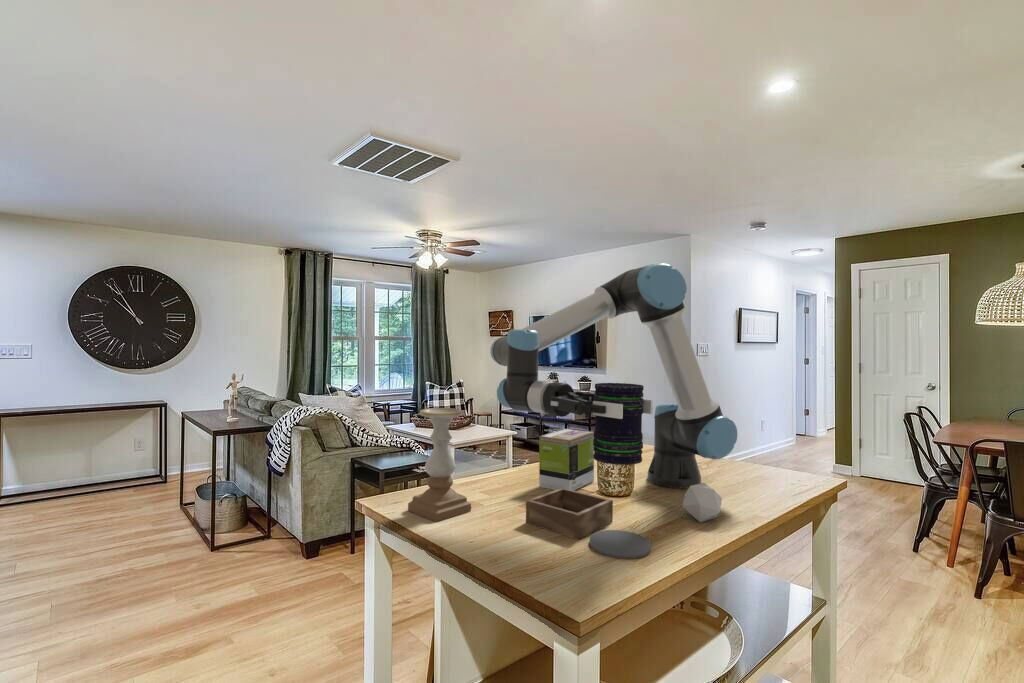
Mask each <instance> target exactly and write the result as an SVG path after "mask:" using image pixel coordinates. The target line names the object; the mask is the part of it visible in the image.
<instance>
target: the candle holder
mask: <svg viewBox="0 0 1024 683" xmlns="http://www.w3.org/2000/svg"><path fill="white" fill-rule="evenodd" d="M419 415H420V416H421V417H425V418H429V421H430V423H431V424H432V426H433V431H432V433H431V435H430V436H429V439H430V440H431V443H432V444H433V449H432V452H431V453H430V454H429V456H428V458H427V460H426V461H425V464H424V471H425V472H426V474H428V475H429V477H428V479H427V481H426V485H427V486H428V489H426V490H425V491H424V492H422V493H420V494H416V495H414V496H412V500H411V501H409V502H408V504H407V511H408V512H410V513H412V514H414V515H418V516H419V517H422V518H424V519H428V520H430V521H432V522H437V523H438V522H440V521H443V520H447V519H450V518H453V517H457V516H460V515H463V514H466V513H469V512H471V511H472V503H471V502H469V501H468V498H467V496H465V495H463V494H460V493H458V492H457V491H456V490H454V489H453V488H452V487H451V486H453V485H454V484H453V483H454V481H453V478H452V477H451V475H453V474H454V472H455V471H456V469H457V467H456V466H457V465H456V462H455V459H454V457H453V456H452V454H451V453H450V450H449V444H450V442H451V441H450V440H452V439H453V437H452V435H451V434H450V431H449V427H450V425H451V423H452V422H453V419H454V418H457V417H461V416H463V415H464V411H463V409H459V408H452V407H450V408H449V407H431V408H430V407H429V408H422V409H421V410H419Z"/></svg>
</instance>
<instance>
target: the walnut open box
mask: <svg viewBox="0 0 1024 683" xmlns="http://www.w3.org/2000/svg"><path fill="white" fill-rule="evenodd" d="M525 502H526V503H525V523H526V524H529V525H532V526H535V527H537V528H541V529H544V530H546V531H550V532H553V533H557V534H559V535H564V536H566V537H569V538H573V539H576V540H580V539H582V538H584V537H586V536H588V535H590V534H593V532H594V533H595V532H597V531H598V530H600V529H601V528H604V527H606V526H608V525H609V524H612V523H613V520H614V519H613V518H614V517H613V516H614V515H613V511H614V506H613V505H614V500H613V499H609V498H605V497H601V496H598V495H594V494H589V493H586V492H585V493H584V492H582V491H577V490H570V489H566V488H560V489H557V490H552V491H549V492H546V493H543V494H540V495H538V496H535V497H533V498H530V499H527V500H526V501H525Z"/></svg>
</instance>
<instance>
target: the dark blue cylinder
mask: <svg viewBox="0 0 1024 683" xmlns="http://www.w3.org/2000/svg"><path fill="white" fill-rule="evenodd" d="M644 387H645V386H644V385H642V384H636V383H626V382H625V383H623V382H621V383H620V382H599V383H598V382H597V383H595V384H594V389H595V391H594V394H595V397H594V401H600V402H609V403H617V404H623V419H618V418H611V417H604V416H597V415H594V416H595V419H594V422H595V424H594V430H593V432H594V439H593V446H594V456H593V458H594V461H596V462H600V463H603V464H609V465H619V466H620V465H621V466H631V465H632V466H633V465H638V464H640V463H642V462H643V457H642V454H643V450H642V449H644V442H643V441H644V440H643V439H644V438H643V436H644V435H643V434H644V433H643V432H642V431H643V430H642V429H643V428H642V426H643V424H642V421H643V420H642V418H643V414H644V413H643V406H642V405H644V400H645V399H644V389H645V388H644Z"/></svg>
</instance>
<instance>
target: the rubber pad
mask: <svg viewBox="0 0 1024 683" xmlns="http://www.w3.org/2000/svg"><path fill="white" fill-rule="evenodd" d="M589 546H590V548H591V549H593V551H594V552H596V553H599V554H601V555H604V556H606V557H611V558H616V559H624V560H625V559H628V560H629V559H630V560H631V559H639V558H643V557H646V556H648V555H649V554H650V553H651V551H652V543H651V541H650V540H649V538H647V537H646V536H643V535H641V534H638V533H636V532H634V531H633V532H632V531H627V530H623V529H622V530H621V529H620V530H619V529H607V530H599V531H595V532H594V533H591V535H590V536H589Z"/></svg>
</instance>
